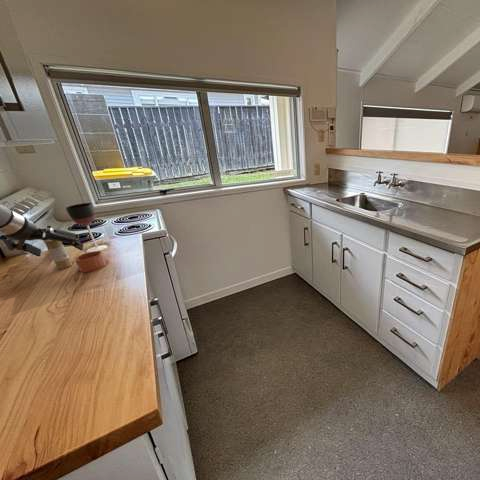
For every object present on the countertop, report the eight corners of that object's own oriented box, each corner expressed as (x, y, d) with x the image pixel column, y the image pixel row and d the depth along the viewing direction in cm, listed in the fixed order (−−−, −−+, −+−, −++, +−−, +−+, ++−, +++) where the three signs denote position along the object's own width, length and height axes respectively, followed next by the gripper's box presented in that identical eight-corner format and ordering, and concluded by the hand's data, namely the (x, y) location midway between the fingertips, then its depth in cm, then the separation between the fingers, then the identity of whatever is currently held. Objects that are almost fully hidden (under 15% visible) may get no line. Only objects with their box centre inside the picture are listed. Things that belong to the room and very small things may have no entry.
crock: (79, 267, 98) (74, 256, 97) (105, 260, 103) (100, 249, 101) (81, 274, 93) (75, 262, 91) (107, 266, 98) (102, 255, 96)
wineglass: (80, 252, 113) (60, 208, 105) (100, 244, 121) (82, 202, 113) (94, 253, 111) (74, 208, 103) (113, 245, 119) (96, 203, 111)
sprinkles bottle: (65, 263, 102) (50, 232, 97) (76, 263, 102) (61, 232, 97) (53, 269, 98) (37, 237, 93) (64, 269, 98) (48, 237, 92)
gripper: (-45, 242, 76) (19, 264, 95) (58, 229, 82) (98, 253, 101) (-38, 220, 78) (22, 246, 97) (60, 209, 85) (99, 236, 104)
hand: (61, 250), depth 99 cm, fingers open, 13 cm apart
